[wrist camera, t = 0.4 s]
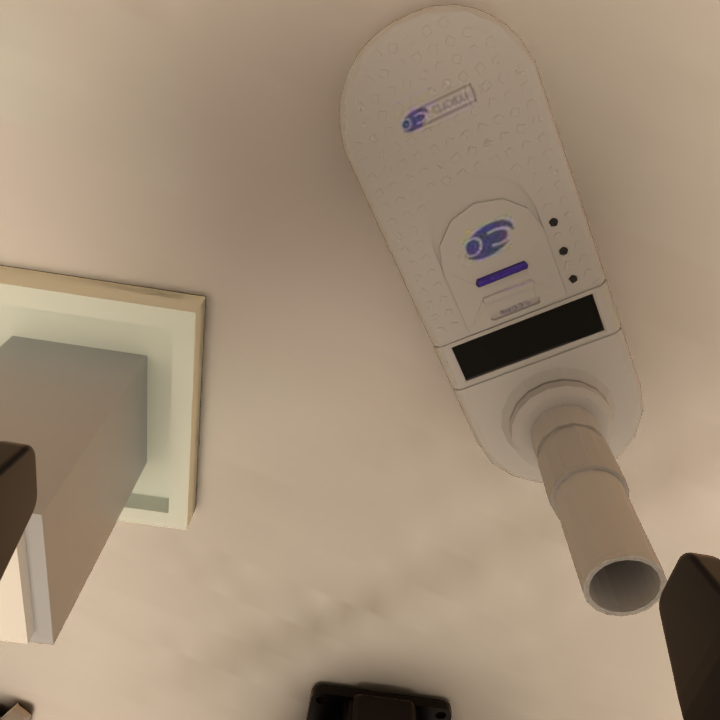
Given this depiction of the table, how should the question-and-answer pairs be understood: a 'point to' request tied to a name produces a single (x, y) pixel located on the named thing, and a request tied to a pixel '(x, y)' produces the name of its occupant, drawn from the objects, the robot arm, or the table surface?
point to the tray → (138, 336)
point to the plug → (67, 470)
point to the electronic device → (505, 274)
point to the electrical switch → (16, 714)
